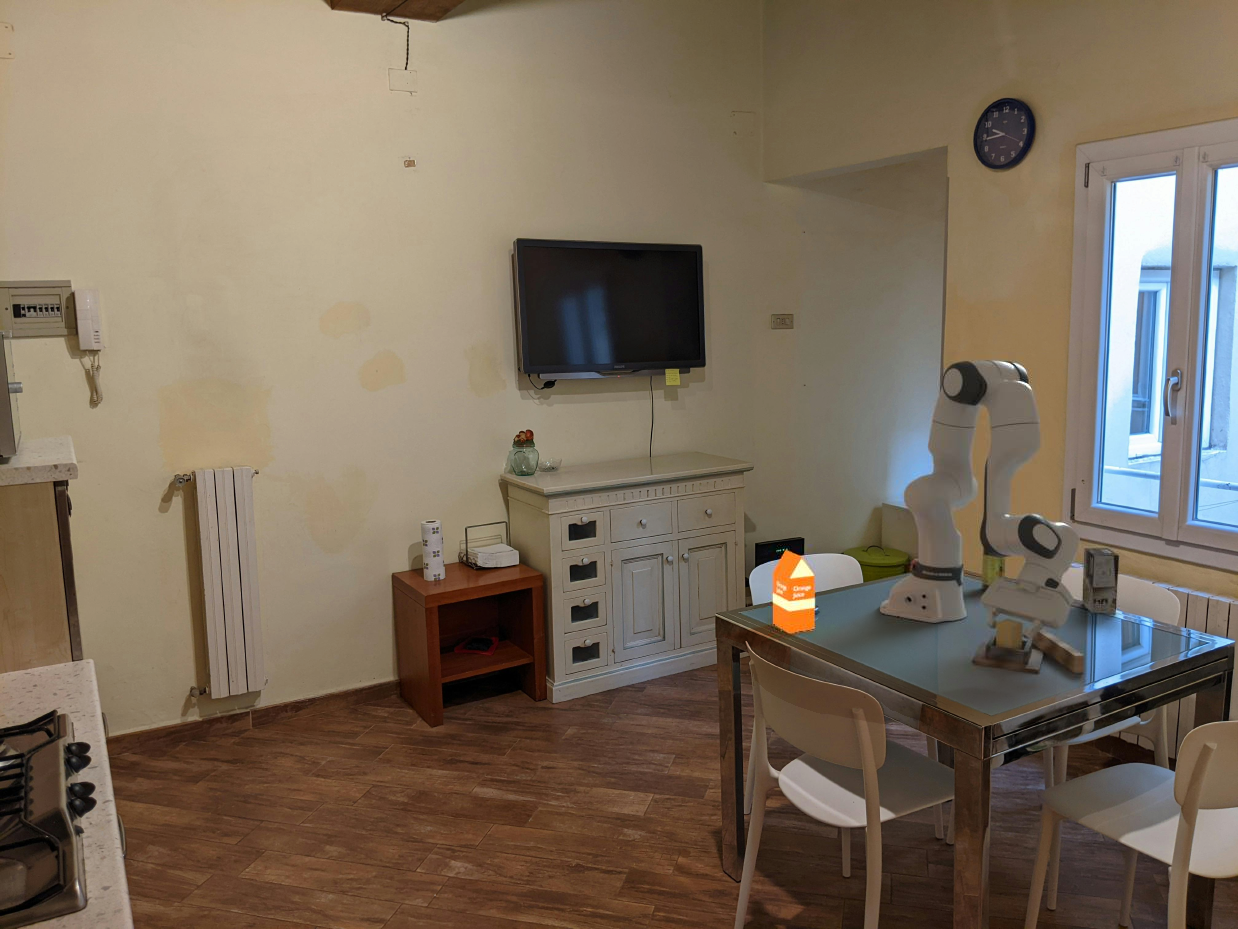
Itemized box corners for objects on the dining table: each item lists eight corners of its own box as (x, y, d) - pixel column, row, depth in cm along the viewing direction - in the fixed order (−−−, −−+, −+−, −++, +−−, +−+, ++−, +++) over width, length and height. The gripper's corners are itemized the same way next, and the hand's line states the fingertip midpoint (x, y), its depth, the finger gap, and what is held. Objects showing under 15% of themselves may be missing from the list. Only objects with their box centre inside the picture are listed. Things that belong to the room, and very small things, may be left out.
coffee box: (1117, 614, 244) (1120, 555, 241) (1091, 613, 245) (1093, 555, 243) (1106, 604, 252) (1109, 547, 250) (1081, 603, 254) (1083, 547, 251)
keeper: (972, 664, 211) (972, 648, 210) (981, 645, 223) (981, 630, 222) (1038, 673, 204) (1039, 657, 203) (1044, 653, 216) (1044, 638, 215)
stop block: (995, 654, 214) (996, 622, 213) (1006, 651, 216) (1007, 618, 215) (1010, 659, 210) (1011, 626, 209) (1021, 656, 212) (1022, 623, 211)
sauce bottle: (1003, 593, 265) (1005, 526, 262) (980, 591, 268) (982, 525, 265) (1005, 588, 270) (1007, 522, 268) (983, 585, 274) (985, 521, 271)
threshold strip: (1031, 643, 223) (1032, 627, 223) (1040, 642, 223) (1040, 627, 223) (1074, 672, 203) (1075, 655, 203) (1083, 672, 203) (1084, 655, 203)
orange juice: (788, 633, 235) (788, 558, 233) (772, 624, 244) (772, 551, 241) (815, 629, 238) (815, 555, 235) (798, 620, 246) (798, 548, 243)
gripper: (992, 567, 223) (964, 613, 219) (1070, 586, 205) (1041, 636, 202) (1003, 582, 226) (976, 627, 222) (1081, 602, 208) (1052, 651, 205)
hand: (1007, 632), depth 212 cm, fingers open, 8 cm apart
